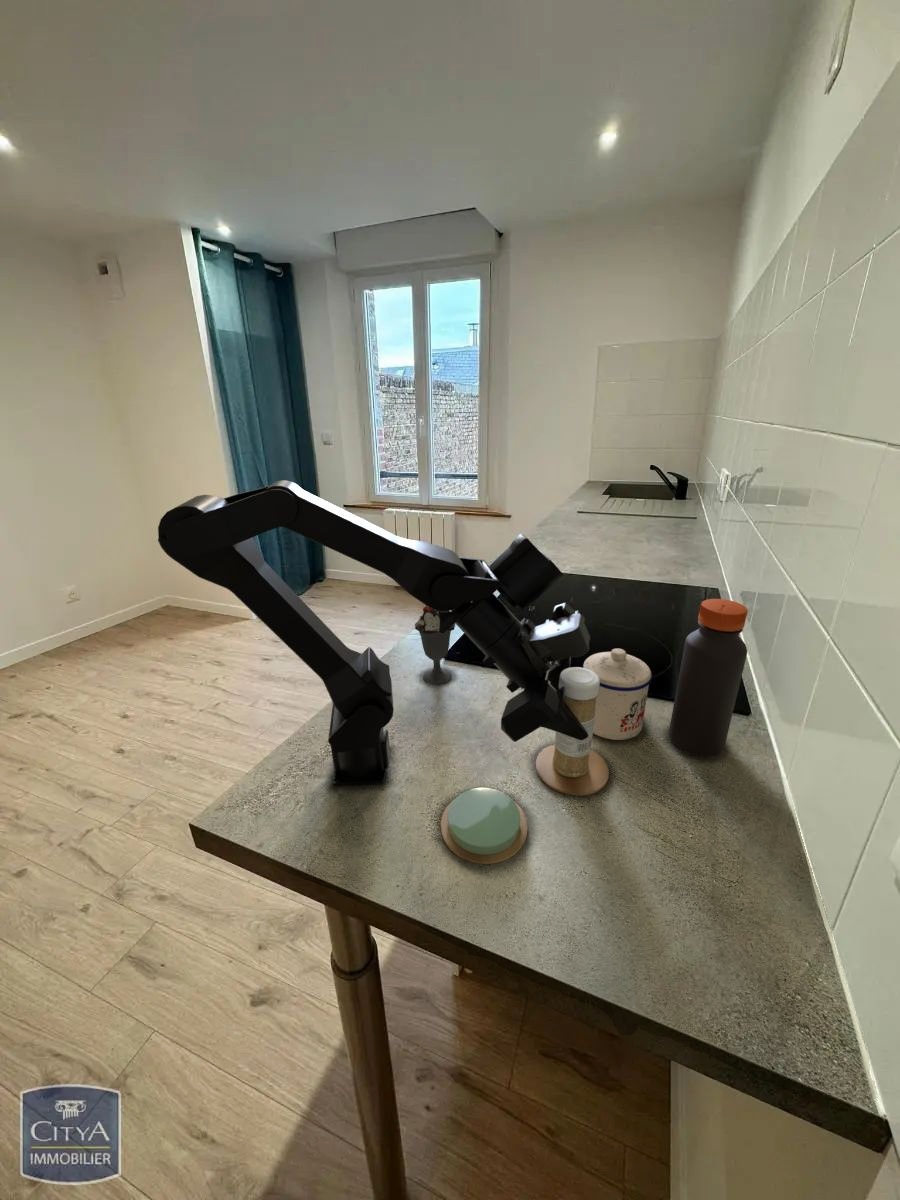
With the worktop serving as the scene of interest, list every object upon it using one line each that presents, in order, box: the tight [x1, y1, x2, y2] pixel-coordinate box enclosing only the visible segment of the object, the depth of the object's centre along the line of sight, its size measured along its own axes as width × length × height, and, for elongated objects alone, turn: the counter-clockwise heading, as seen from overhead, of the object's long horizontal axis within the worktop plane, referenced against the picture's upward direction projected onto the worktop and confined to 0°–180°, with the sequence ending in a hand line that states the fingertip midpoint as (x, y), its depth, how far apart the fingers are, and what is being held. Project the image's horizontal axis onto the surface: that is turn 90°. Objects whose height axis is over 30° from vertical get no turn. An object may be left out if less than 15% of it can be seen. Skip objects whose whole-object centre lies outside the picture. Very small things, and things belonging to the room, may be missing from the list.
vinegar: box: [668, 598, 749, 758], centre depth 60 cm, size 7×7×20 cm
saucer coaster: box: [440, 800, 528, 865], centre depth 52 cm, size 10×10×1 cm
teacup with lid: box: [581, 648, 653, 741], centre depth 67 cm, size 12×9×12 cm
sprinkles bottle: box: [553, 666, 600, 778], centre depth 57 cm, size 5×5×14 cm
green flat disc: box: [448, 787, 520, 855], centre depth 52 cm, size 8×8×1 cm
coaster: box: [535, 743, 610, 796], centre depth 60 cm, size 9×9×1 cm
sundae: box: [414, 605, 456, 685], centre depth 78 cm, size 7×7×15 cm
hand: (586, 726), depth 57 cm, fingers closed on sprinkles bottle, 4 cm apart
